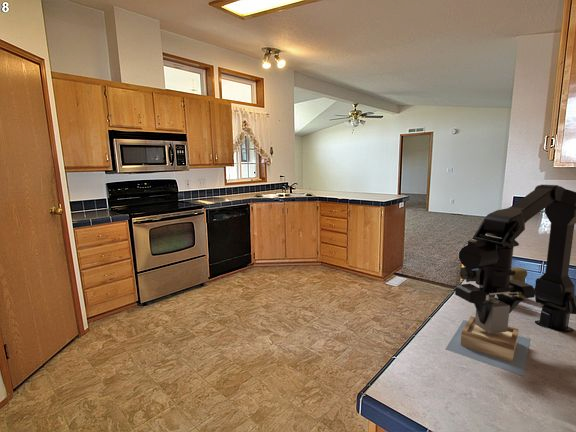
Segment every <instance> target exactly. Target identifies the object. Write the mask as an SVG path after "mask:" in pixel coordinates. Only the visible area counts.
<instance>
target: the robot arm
mask: <svg viewBox="0 0 576 432" xmlns="http://www.w3.org/2000/svg"><path fill="white" fill-rule="evenodd" d="M543 210H544V215H545V216H546V217H547V220H548V221H549V223H550V230H549V238H548V248H547V255H546V256H547V257H546V264H545V272H544V273H543V274H542V275H541V276H540V277H537V278H536V280H535V286H533V285H532V284H529V283H526V282H525V283H524V282H521V281H519V280H510V277H511V276H510V275H515V271H514V270H511V268H512V267H513V266H512V265H513V256H514V248H515V247H519V246H520V243H519V242H518V241H517V240H516V239H517V238H519V236H520V235H521V234H522V233H523V232H524V231H525V229H526V223H527V222H528V221H529V220H530V219H533V217H534V216H536V215H537V214H539V213H540V212H541V211H543ZM575 225H576V191H573V190H570V189H567V188H564V187H563V186H560V185H557V184H540V185H536V186H535V188H534V189H533V190H532V191H530V192H529V193H528V194H527V195H525V196H524V197H522V198H521V199H519V200H518V201H517V202H515V203H514V204H512V205H511V206H509V207H507V208H501V209H497V210H495V211H492V212H490V213H488V214H487V215H486V216H485V217H484V218H483V220H482V222H481V223H480V225H479V227H478V228H477V230H476V232H475V234H474V235H473V237H472V239H470V240H467V245H464V246H463V247H462V248H461V249H460V251H459V252H458V257H459V261H460V263H461V264H462V266H463V267H460V271H459V277H460V279H461V280H465V282H466V283H461V284H459V283H458V285H456V286H455V289H454V290H455V292H454V295H455V296H458V297H459V298H461V299H463V300H465V301H466V302H468V303H470V304H474V307H475V311H476V310H477V313H478V317H479V320H480V322H481V323H482V324H485V322H486V320H487V318H488V315H489V312H490V310H491V307H492V304H493V303H492V302H490V301H488V300H489V295H494V294H496V295H495V296H496V297H497V299H499V300H500V301H502V302H504V303H506V304H508V305H510V311H509V315H510V314H511V312H513V310H514V309H515V308H516V307H517V306H518V305H520V303H521V302H524V301H523V300H524V299H522V298H520V297H519V294H518V292H522V294H521V295H522V296H523V297H524V298H526V299H532V298H533V299H535V303H537V304H539V305H541V306H542V307H541V310H540V316H539V320H535V321H534V323H535V324H536V325H539V326H541V327H543V328H545V329H550V330H553V331H557V332H560V333H569V332H574V328H572V327H570V326H569V323H570V315H576V294H575V284H574V283H573V281H572V280H571V278H570V276H569V270H570V262H571V254H572V249H573V248H572V247H573V239H574V231H575ZM469 282H475V285H474V284H472V283H469ZM476 285H477V286H476ZM479 285H481V286H482V288H479Z"/></svg>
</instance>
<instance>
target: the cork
mask: <svg viewBox="0 0 576 432" xmlns="http://www.w3.org/2000/svg"><path fill="white" fill-rule="evenodd" d="M511 270H514V271H515V275H510V280H519V281H521V282H524V283H526V278H527V277H528V271H527V270H526V268H523V267H519V266H511ZM518 294H519V297H520V298H522V299H524V300H523V301H522V302H524V301H526V299H527V298H524V297H523V296H522V295H521V294H522V292H518Z"/></svg>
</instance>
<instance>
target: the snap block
mask: <svg viewBox="0 0 576 432" xmlns="http://www.w3.org/2000/svg"><path fill="white" fill-rule="evenodd" d="M488 301H490V302H492V303H493V304H492V307H491V310H490V312H489V315H488V318H487V320H486V322H485V324H482V323H481V322H480V320H479V317H478V313H477V310H476V309H475V316H474V317H475V324H476V325H477V326H479V327H480V328H482V329H484V330H485V331H487V332H488V333H490V334H492V333H500V332H507V328H508V326H509V318H510V314H509V311H510V305H508V304H506V303H504V302H502V301H500V300H499V299H498V297H497V298H496V297H495V298H494V297H489V300H488Z"/></svg>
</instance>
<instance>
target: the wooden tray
mask: <svg viewBox="0 0 576 432" xmlns="http://www.w3.org/2000/svg"><path fill="white" fill-rule="evenodd" d="M467 321H468V322H467V323H466V325H465V327H464V328H463V330H462V334H461V344H460V345H462V346H465V347H468V348H471V349H474V350H477V351H480V352H483V353H486V354H489V355H492V356H495V357H498V358H501V359H504V360H507V361H510V362H512V361H513V357H514V353H515V349H516V345H517V339H518V336H519V328H516V327H512V326H509V325H508V328H507V332H500V333H492V334H490V333H488V332H487V331H485V330H484V329H482V328H480V327H479V326H477V325H476V324H475V316H470V317H469V318H468V320H467Z"/></svg>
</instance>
